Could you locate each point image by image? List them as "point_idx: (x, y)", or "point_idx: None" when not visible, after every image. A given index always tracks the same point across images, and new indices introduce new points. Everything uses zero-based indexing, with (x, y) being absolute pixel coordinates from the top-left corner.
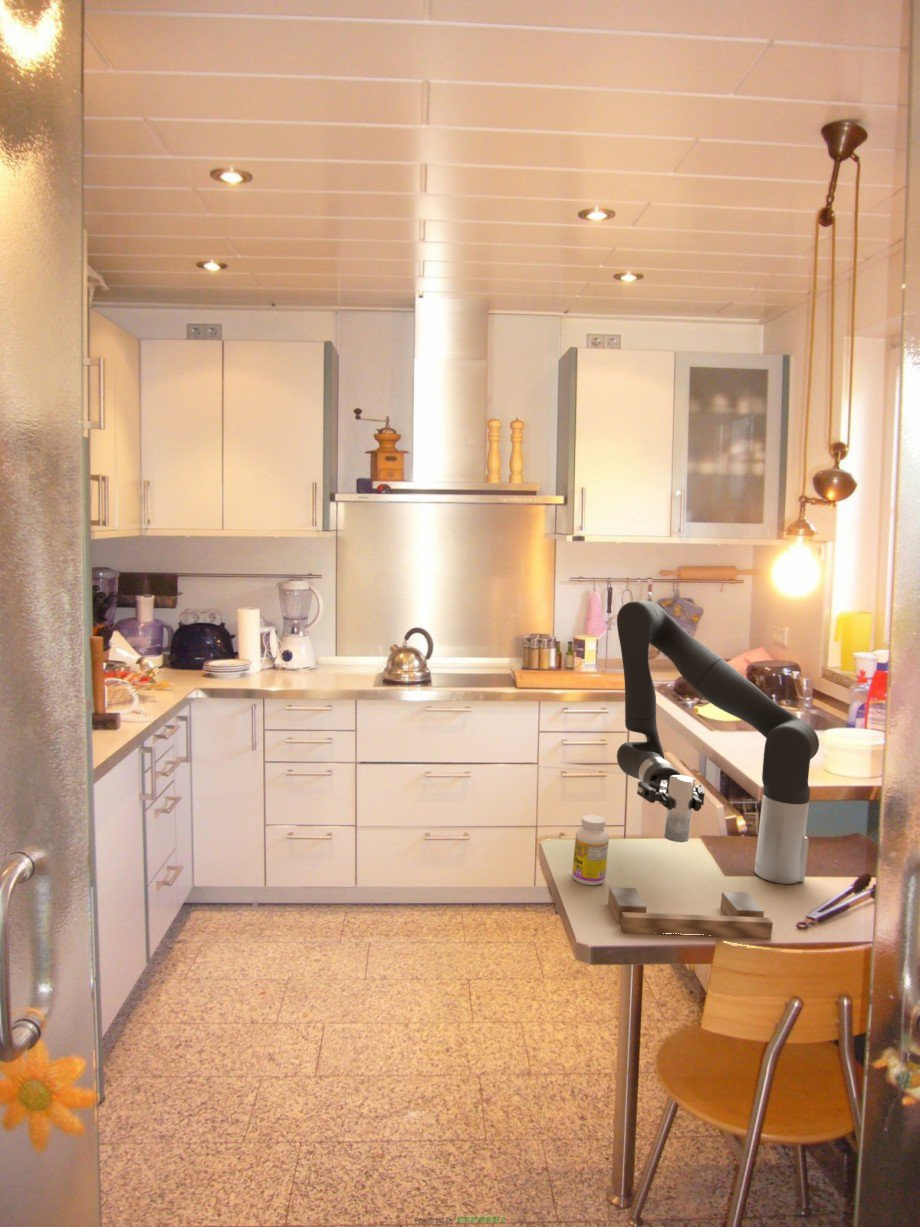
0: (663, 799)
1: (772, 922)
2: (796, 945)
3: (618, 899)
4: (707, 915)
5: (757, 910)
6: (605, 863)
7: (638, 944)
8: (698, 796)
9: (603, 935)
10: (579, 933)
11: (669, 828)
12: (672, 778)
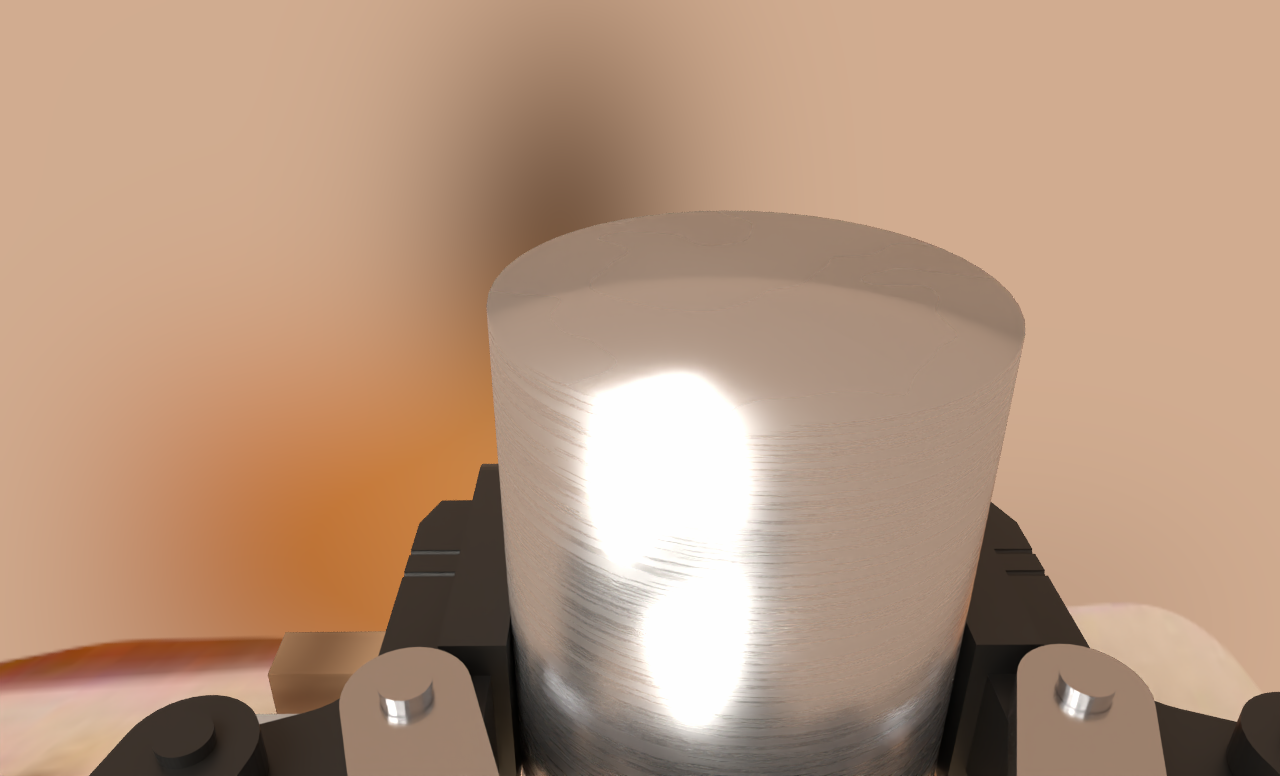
0: (1024, 554)
1: (285, 634)
2: (217, 653)
3: None
4: None
5: (283, 716)
6: None
7: None
8: (330, 707)
9: (1128, 666)
10: (1244, 673)
11: None
12: (963, 285)
